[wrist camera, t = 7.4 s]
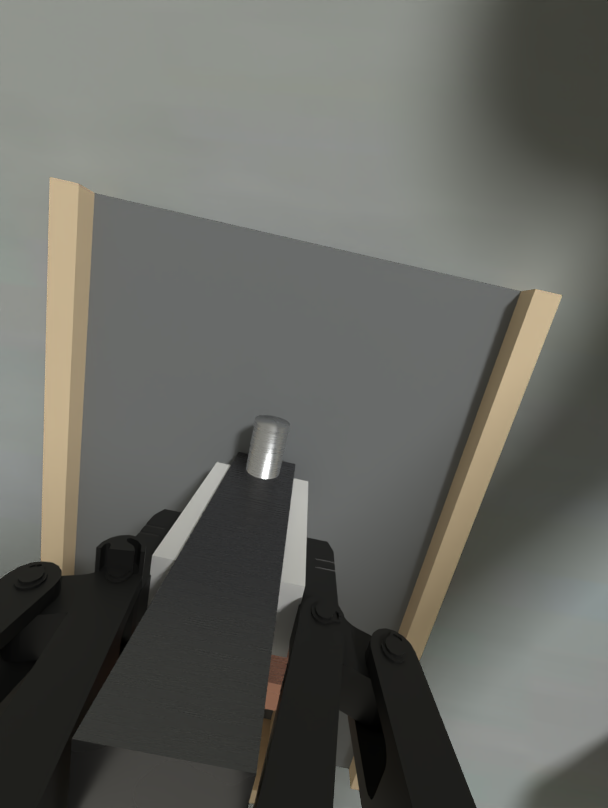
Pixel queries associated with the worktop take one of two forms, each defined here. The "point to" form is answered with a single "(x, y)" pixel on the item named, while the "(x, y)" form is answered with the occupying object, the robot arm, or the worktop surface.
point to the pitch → (276, 394)
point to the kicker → (198, 656)
